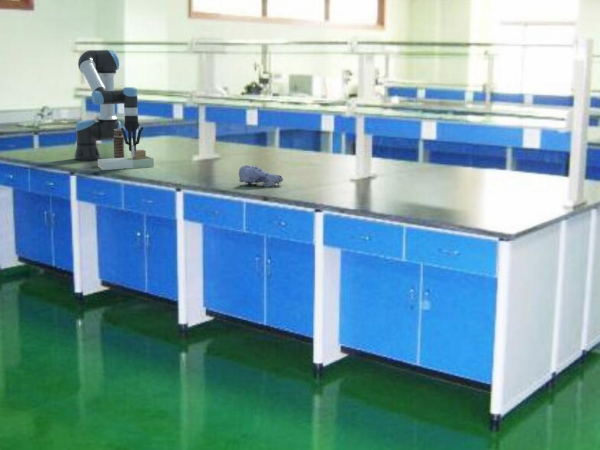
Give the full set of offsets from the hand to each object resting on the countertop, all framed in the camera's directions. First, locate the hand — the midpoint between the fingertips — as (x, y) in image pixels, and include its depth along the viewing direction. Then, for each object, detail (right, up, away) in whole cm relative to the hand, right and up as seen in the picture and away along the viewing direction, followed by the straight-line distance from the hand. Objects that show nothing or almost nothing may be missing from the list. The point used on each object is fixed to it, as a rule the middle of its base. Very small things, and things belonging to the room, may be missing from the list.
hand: (132, 156), depth 481 cm
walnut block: (+3, -2, +2) cm, 5 cm away
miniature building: (-11, -3, +16) cm, 20 cm away
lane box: (-4, -6, 0) cm, 7 cm away
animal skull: (+76, -20, -63) cm, 100 cm away
